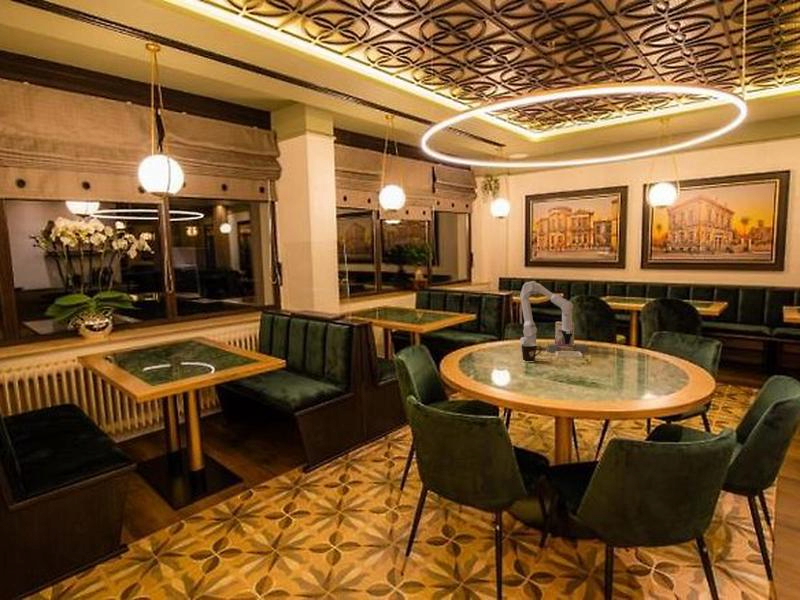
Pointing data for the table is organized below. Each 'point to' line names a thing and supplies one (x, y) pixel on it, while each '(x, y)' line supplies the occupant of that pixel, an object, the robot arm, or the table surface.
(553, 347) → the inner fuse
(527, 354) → the coffee mug
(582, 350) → the outer fuse
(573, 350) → the fuse board
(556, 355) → the parts tray
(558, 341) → the candy bar box
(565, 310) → the robot arm
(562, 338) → the marked fuse
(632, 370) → the table surface
